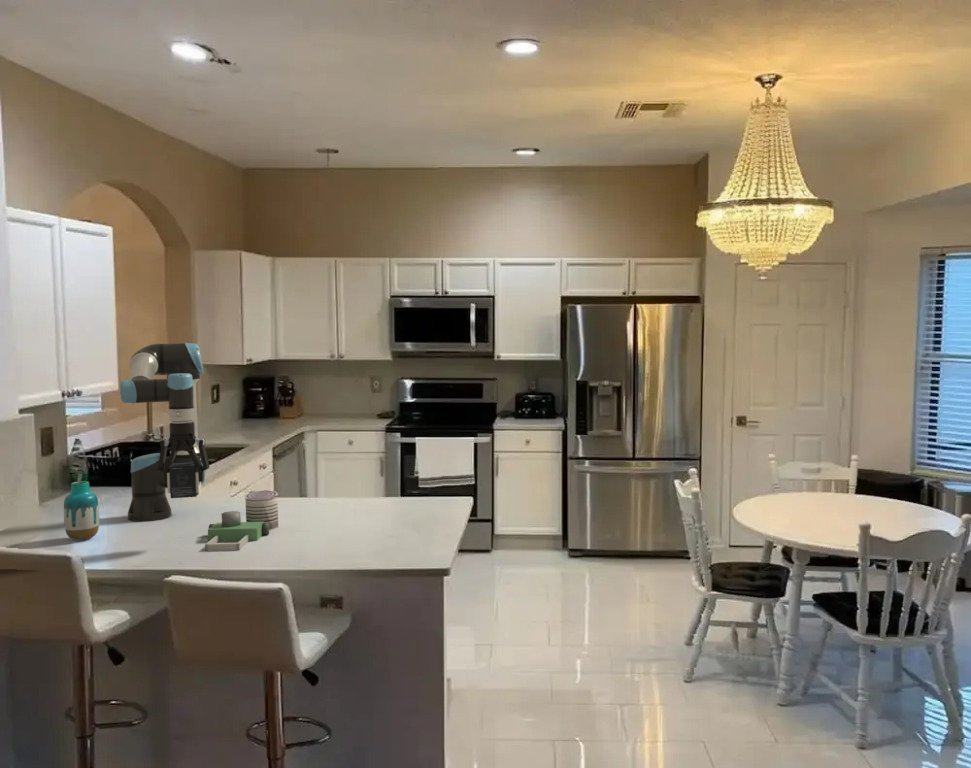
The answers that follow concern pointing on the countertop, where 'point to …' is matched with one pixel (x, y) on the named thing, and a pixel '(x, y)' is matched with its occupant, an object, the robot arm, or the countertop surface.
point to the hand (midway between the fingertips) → (184, 492)
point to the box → (183, 480)
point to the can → (262, 507)
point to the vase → (81, 512)
